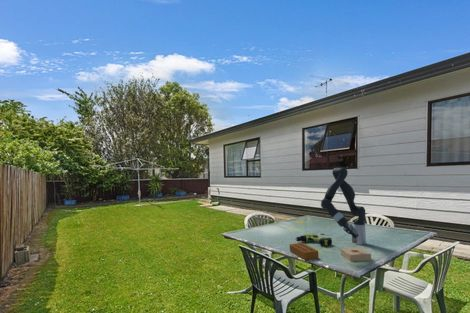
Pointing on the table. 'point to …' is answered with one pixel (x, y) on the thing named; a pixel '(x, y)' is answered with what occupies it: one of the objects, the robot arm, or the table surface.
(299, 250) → the brick
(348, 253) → the block
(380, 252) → the table surface
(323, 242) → the cordless drill
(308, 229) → the table surface
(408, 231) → the table surface
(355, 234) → the chuck key
